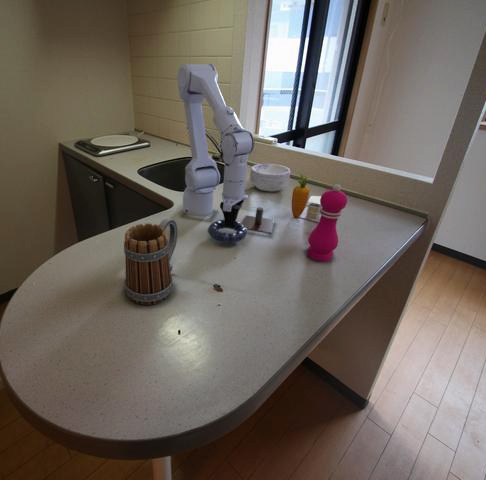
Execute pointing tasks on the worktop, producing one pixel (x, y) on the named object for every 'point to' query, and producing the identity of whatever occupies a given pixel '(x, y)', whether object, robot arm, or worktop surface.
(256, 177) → the paper bowls
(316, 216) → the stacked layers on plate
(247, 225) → the post
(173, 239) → the mug
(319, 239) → the pepper mill
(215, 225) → the ring
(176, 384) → the worktop surface
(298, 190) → the carrot
